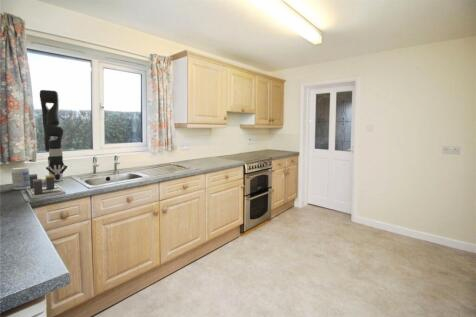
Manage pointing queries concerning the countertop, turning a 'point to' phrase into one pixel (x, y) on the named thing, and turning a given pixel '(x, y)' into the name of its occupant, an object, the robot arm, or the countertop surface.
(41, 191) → the grey base plate
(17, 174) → the supplement tub
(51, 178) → the breaker
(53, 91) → the robot arm
